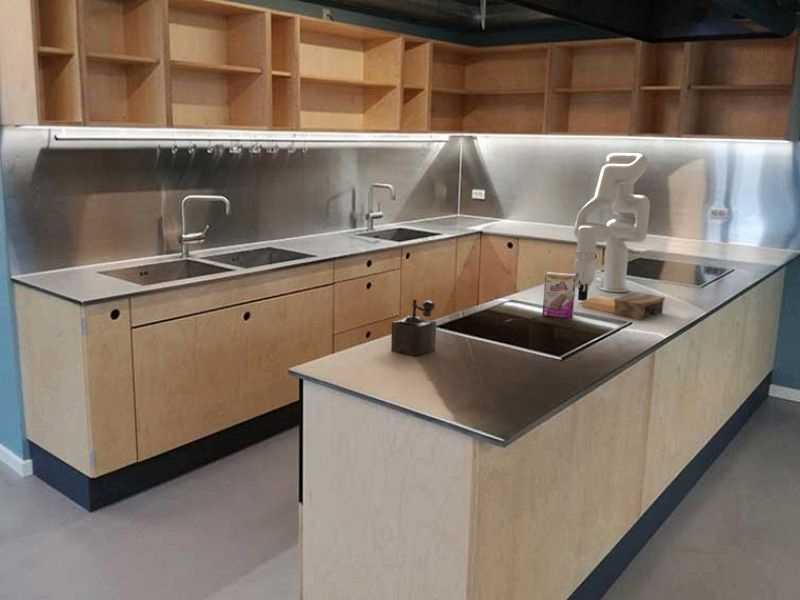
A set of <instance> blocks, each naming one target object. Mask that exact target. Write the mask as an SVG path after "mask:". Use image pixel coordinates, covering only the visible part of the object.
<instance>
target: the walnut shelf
mask: <svg viewBox="0 0 800 600" xmlns="http://www.w3.org/2000/svg"><path fill="white" fill-rule="evenodd" d="M613 299H614V302H615V311H614V313H613V314H614V315H615V316H619V317H623V318H630V319H634V320H637V321H638V320H639V321H644V320H645V319H648V318H649V313H650V312H651V315H652V316H656V315H658V314H660V315H661V314H663V308H664V301H665V299H666V297H664V296H659V295H653V294H649V293H648V294H647V293H641V292H635V293H634V292H633V293H630V294H628V295H627V294H626V295H624V296H621V297H618V298H613Z"/></svg>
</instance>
